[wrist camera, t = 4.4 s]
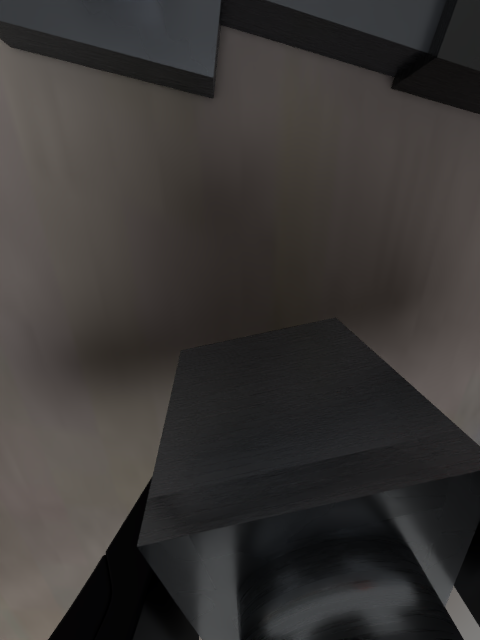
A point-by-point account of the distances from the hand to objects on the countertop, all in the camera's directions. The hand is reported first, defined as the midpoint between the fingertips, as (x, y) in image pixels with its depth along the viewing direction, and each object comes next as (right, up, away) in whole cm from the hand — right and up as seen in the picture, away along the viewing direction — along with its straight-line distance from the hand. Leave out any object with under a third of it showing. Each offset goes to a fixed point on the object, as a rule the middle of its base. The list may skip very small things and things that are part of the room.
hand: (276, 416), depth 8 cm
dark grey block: (0, 0, +1) cm, 1 cm away
